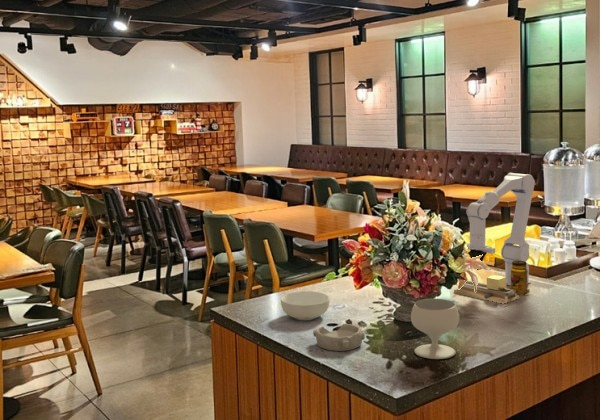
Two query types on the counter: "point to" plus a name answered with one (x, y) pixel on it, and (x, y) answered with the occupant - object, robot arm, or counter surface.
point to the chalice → (435, 325)
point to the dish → (339, 338)
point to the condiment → (519, 277)
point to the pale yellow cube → (496, 282)
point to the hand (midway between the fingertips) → (477, 269)
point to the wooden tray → (487, 293)
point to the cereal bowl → (305, 304)
